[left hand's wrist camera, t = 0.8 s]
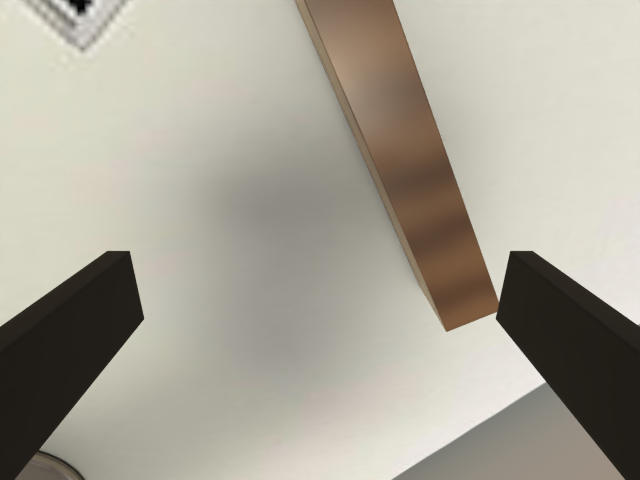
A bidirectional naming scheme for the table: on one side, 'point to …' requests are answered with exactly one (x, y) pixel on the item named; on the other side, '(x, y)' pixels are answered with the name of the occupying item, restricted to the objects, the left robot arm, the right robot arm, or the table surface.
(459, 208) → the beam
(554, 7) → the table surface
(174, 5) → the table surface
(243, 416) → the table surface
